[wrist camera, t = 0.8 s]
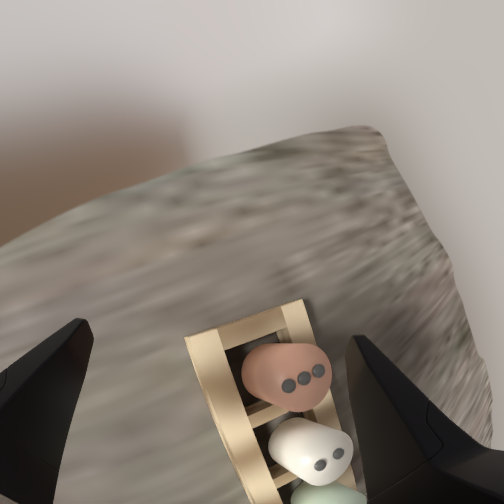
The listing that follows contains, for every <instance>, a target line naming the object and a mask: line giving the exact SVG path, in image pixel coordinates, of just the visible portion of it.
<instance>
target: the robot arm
mask: <svg viewBox="0 0 504 504" xmlns="http://www.w3.org/2000/svg"><path fill="white" fill-rule="evenodd" d="M93 342H94V337H93V334H92V331H91V329H90V326H89V324H88V321H87V320H86V319H81V318H75V319H74V320H72V321H71V322H69V323H68V324H67V325H65V326H64V327H62V328H61V329H59V330H58V331H57V332H55V333H54V334H52V335H51V336H50V337H48V338H47V339H45V340H44V341H43V342H41V343H40V344H39V345H37V346H36V347H34V348H33V349H32V350H30V351H29V352H28V353H26V354H25V355H23V356H22V357H21V358H19V359H18V360H17V361H15V362H14V363H13V364H11V365H10V366H9V367H8V368H6V369H5V370H3V371H2V372H1V373H0V504H53V500H54V495H55V489H56V484H57V479H58V474H59V473H58V472H59V469H60V464H61V460H62V455H63V451H64V447H65V443H66V439H67V436H68V432H69V428H70V424H71V421H72V417H73V414H74V411H75V407H76V404H77V401H78V398H79V394H80V391H81V388H82V385H83V382H84V379H85V375H86V371H87V367H88V362H89V358H90V354H91V350H92V346H93ZM345 359H346V369H347V379H348V389H349V398H350V403H351V408H352V413H353V417H354V422H355V428H356V433H357V438H358V443H359V449H360V454H361V460H362V466H363V472H364V478H365V484H366V491H367V498H368V500H369V501H368V504H504V451H501V450H494V449H490V448H487V447H484V446H483V445H481V444H479V443H478V442H477V441H476V440H474V439H473V438H472V437H471V436H469V435H468V434H467V433H466V432H465V431H463V430H462V429H461V428H460V427H458V426H457V425H456V424H455V423H454V422H453V421H451V420H450V419H449V418H448V417H447V416H446V415H445V414H444V413H443V412H442V411H441V410H440V409H438V408H437V407H436V406H435V405H434V404H433V403H432V401H430V400H429V399H428V398H427V397H426V396H425V395H424V394H423V393H422V392H421V391H420V389H419V388H418V387H417V386H416V385H415V384H414V383H413V382H412V381H411V380H410V379H409V378H408V377H407V376H406V375H405V374H404V373H403V372H402V371H401V370H400V369H399V368H397V367H396V366H395V365H394V364H393V363H392V362H391V361H390V360H389V359H388V358H387V357H386V356H385V355H384V354H383V353H382V352H381V351H380V350H379V349H378V348H377V347H376V346H375V345H374V344H373V343H372V342H371V341H370V340H369V339H368V338H367V337H366V336H365V335H353V336H352V337H351V339H350V342H349V345H348V347H347V350H346V354H345Z"/></svg>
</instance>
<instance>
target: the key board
mask: <svg viewBox="0 0 504 504" xmlns="http://www.w3.org/2000/svg"><path fill="white" fill-rule="evenodd" d="M275 331H276V332H277V335H278V339H279V342H280V343H307V344H312V345H315V346H317V344H316V341H315V338H314V335H313V331H312V328H311V325H310V322H309V319H308V316H307V312H306V309H305V306H304V303H303V300H302V299H300V300H296V301H292V302H289V303H286V304H283V305H280V306H277V307H275V308H272V309H269V310H266V311H263V312H260V313H257V314H254V315H251V316H248V317H245V318H242V319H239V320H236V321H233V322H230V323H227V324H224V325H221V326H218V327H215V328H212V329H208V330H205V331H202V332H199V333H196V334H192V335H189V336H186V337H184V339H185V342H186V345H187V348H188V351H189V354H190V357H191V360H192V363H193V366H194V368H195V371H196V374H197V377H198V380H199V382H200V385H201V388H202V391H203V393H204V396H205V399H206V401H207V404H208V406H209V409H210V412H211V414H212V417H213V419H214V422H215V424H216V426H217V429H218V431H219V434H220V436H221V439H222V441H223V443H224V446H225V448H226V450H227V452H228V455H229V457H230V459H231V462H232V464H233V466H234V468H235V470H236V473H237V475H238V477H239V479H240V481H241V483H242V485H243V487H244V489H245V491H246V493H247V496H248V498H249V500H250V502H251V504H283V502H282V500H281V498H280V496H279V493H278V491H277V488H279V487H281V486H283V485H285V484H287V483H289V482H291V481H292V480H294V479H296V478H298V476H297V475H295V474H293V473H292V472H290V471H289V470H287V469H286V468H284V467H283V466H281V465H280V464H279V463H277V464H275V465H273V466H271V467H269V468H268V467H267V465H266V462H265V460H264V458H263V455H262V453H261V450H260V448H259V445H258V443H257V440H256V437H255V435H254V432H253V430H252V429H253V428H255V427H257V426H260V425H262V424H264V423H266V422H268V421H270V420H272V419H274V418H277V417H279V416H281V415H283V414H285V413H287V412H289V410H287V409H284V408H281V407H279V406H276V405H274V404H271V403H269V402H266V401H264V400H261V401H259V402H257V403H254V404H252V405H250V406H247V407H245V408H244V406H243V403H242V400H241V398H240V395H239V392H238V389H237V387H236V384H235V381H234V378H233V375H232V372H231V369H230V367H229V364H228V361H227V358H226V355H225V352H224V350H227V349H230V348H233V347H235V346H238V345H241V344H244V343H246V342H249V341H252V340H255V339H257V338H260V337H263V336H265V335H268V334H270V333H273V332H275ZM302 413H303V416H304V419H307V420H310V421H312V422H315V423H318V424H321V425H324V426H327V427H330V428H333V429H336V430H339V431H342V430H341V426H340V423H339V419H338V415H337V412H336V408H335V405H334V401H333V398H332V394H331V391H330V388H329V390H328V393H327V394H326V396H325V398H324V399H323V400H322V401H321V402H320V403H319V404H318V405H317V406H315V407H314V408H312V409H310V410H308V411H304V412H302ZM335 481H337V482H339V483H341V484H343V485H345V486H347V487H349V488H351V489H353V490H356V491H358V490H357V486H356V482H355V479H354V475H353V471H352V467H351V463H350V464H349V466H348V468H347V469H346V470H345V472H344V473H343V474H342V475H341V476H340V477H339V478H338V479H336V480H335Z"/></svg>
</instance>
